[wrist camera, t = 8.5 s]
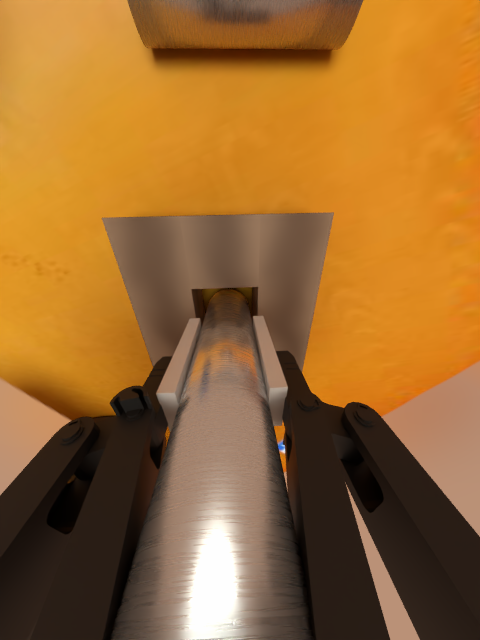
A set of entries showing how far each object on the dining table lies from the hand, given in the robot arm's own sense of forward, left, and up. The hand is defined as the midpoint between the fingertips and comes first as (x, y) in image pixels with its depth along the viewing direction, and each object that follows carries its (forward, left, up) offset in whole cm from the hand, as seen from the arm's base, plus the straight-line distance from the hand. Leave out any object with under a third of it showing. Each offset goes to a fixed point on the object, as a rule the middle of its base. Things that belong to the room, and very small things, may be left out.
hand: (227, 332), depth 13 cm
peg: (0, 0, -4) cm, 4 cm away
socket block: (0, 0, -7) cm, 7 cm away
